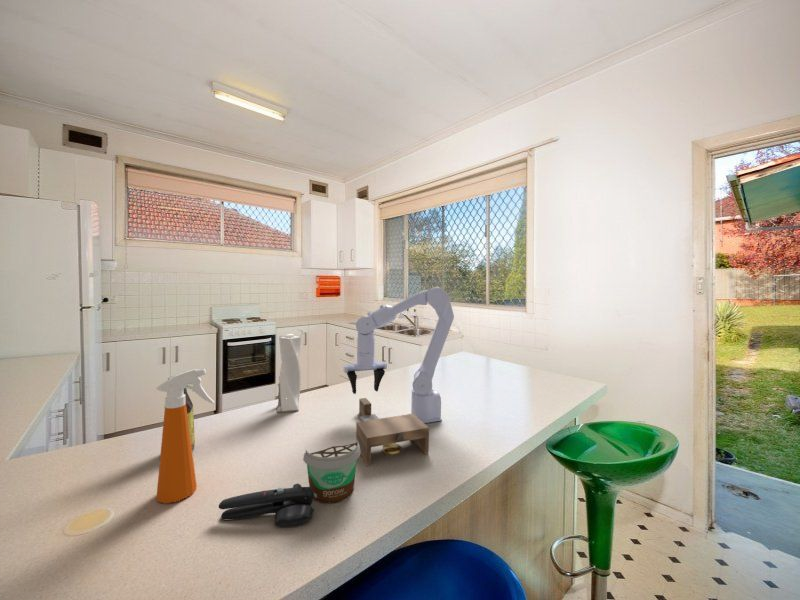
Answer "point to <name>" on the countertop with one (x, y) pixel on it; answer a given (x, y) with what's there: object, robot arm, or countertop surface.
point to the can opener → (272, 505)
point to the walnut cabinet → (391, 433)
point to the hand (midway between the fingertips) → (365, 391)
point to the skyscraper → (289, 373)
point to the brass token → (392, 449)
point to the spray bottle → (178, 438)
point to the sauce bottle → (189, 416)
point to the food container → (332, 472)
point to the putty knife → (366, 410)
